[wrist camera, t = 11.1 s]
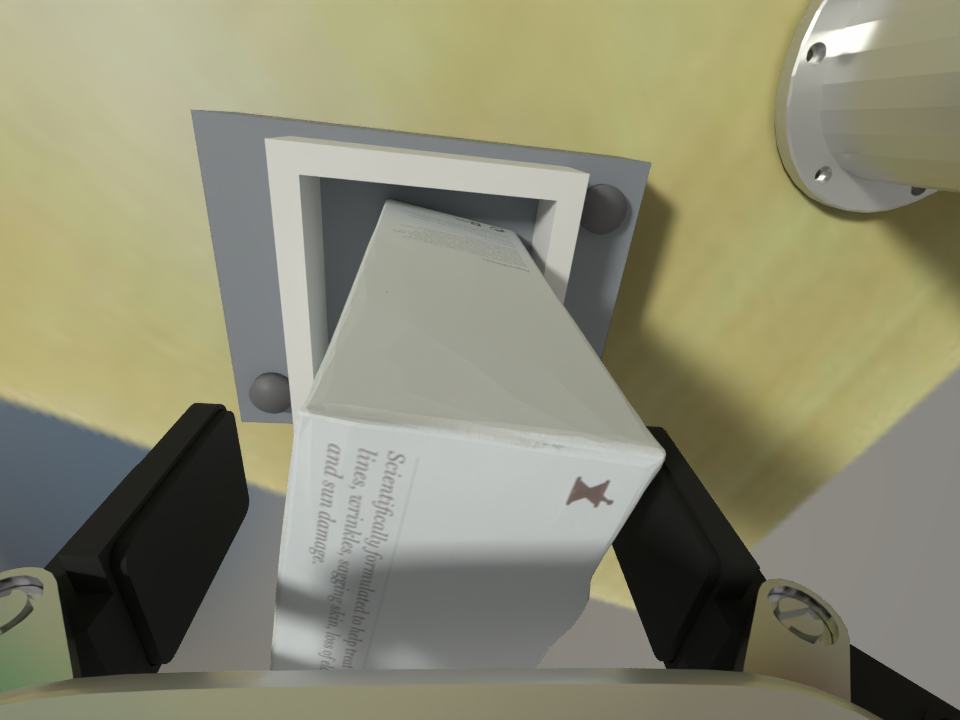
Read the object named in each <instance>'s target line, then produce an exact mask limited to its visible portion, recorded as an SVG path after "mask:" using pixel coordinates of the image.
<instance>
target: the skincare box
mask: <svg viewBox="0 0 960 720" xmlns="http://www.w3.org/2000/svg"><path fill="white" fill-rule="evenodd" d="M665 457H666V452H665V450H664V448H663V447H662V446H661V445H660V444H659V442H658V441H657V440H656V439H655V438H654V436H653V435H652V434H651V433H650V431H649V430H648V429H647V428H646V426H645V425H644V423H643V422H642V420H641V419H640V417H639V415H638V414H637V413H636V411H635V410H634V408H633V407H632V406H631V404H630V403H629V402H628V400H627V399H626V397H625V395H624V394H623V392H622V391H621V389H620V388H619V386H618V385H617V383H616V382H615V380H614V379H613V378H612V376H611V375H610V373H609V372H608V370H607V369H606V367H605V366H604V364H603V363H602V361H601V360H600V358H599V357H598V355H597V354H596V352H595V351H594V349H593V348H592V346H591V345H590V343H589V342H588V340H587V339H586V337H585V336H584V334H583V333H582V332H581V330H580V329H579V327H578V326H577V324H576V323H575V321H574V320H573V318H572V317H571V315H570V314H569V312H568V311H567V309H566V308H565V306H564V305H563V304H562V302H561V301H560V299H559V297H558V296H557V295H556V293H555V292H554V290H553V289H552V287H551V286H550V284H549V283H548V281H547V280H546V278H545V277H544V275H543V274H542V272H541V271H540V269H539V268H538V266H537V265H536V263H535V262H534V260H533V259H532V257H531V256H530V254H529V253H528V251H527V250H526V248H525V246H524V245H523V244H522V242H521V240H520V239H519V237H518V236H517V234H516V233H515V232H513V231H510V230H507V229H503V228H499V227H496V226H492V225H488V224H484V223H481V222H477V221H473V220H469V219H465V218H462V217H458V216H454V215H450V214H446V213H442V212H438V211H434V210H430V209H426V208H423V207H419V206H415V205H411V204H407V203H403V202H399V201H396V200H392V199H387V200H386V201H385V204H384V207H383V209H382V212H381V215H380V218H379V220H378V223H377V225H376V228H375V230H374V233H373V235H372V237H371V239H370V242H369V244H368V247H367V249H366V252H365V255H364V257H363V260H362V263H361V265H360V268H359V270H358V273H357V276H356V278H355V281H354V283H353V286H352V288H351V291H350V294H349V296H348V299H347V301H346V304H345V306H344V309H343V311H342V314H341V317H340V319H339V322H338V324H337V327H336V329H335V332H334V334H333V337H332V340H331V342H330V345H329V347H328V350H327V352H326V354H325V356H324V359H323V361H322V363H321V366H320V368H319V370H318V372H317V375H316V377H315V379H314V382H313V384H312V387H311V389H310V392H309V394H308V397H307V399H306V401H305V403H304V405H303V406H302V407H301V408H300V410H299V411H298V413H297V416H296V424H295V432H294V440H293V447H292V455H291V462H290V470H289V478H288V487H287V495H286V504H285V512H284V520H283V529H282V537H281V546H280V557H279V567H278V578H277V588H276V601H275V616H274V629H273V640H272V650H271V666H270V671H290V670H377V669H536V668H537V667H538V665H539V664H540V662H541V660H542V659H543V657H544V655H545V653H546V652H547V650H548V648H549V647H550V646H551V645H552V644H553V643H555V641H557V640H558V639H559V638H560V637H561V636H562V635H563V634H565V633H566V632H567V631H568V630H569V629H570V628H571V627H572V626H573V625H574V623H575V622H576V621H577V619H578V618H579V617H580V615H581V614H582V612H583V610H584V609H585V607H586V605H587V602H588V600H589V594H590V582H591V579H592V576H593V574H594V572H595V570H596V569H597V567H598V565H599V563H600V562H601V560H602V558H603V557H604V555H605V553H606V552H607V550H608V549H609V547H610V546H611V544H612V542H613V541H614V539H615V538H616V536H617V535H618V533H619V532H620V530H621V528H622V527H623V525H624V524H625V522H626V520H627V519H628V517H629V516H630V514H631V512H632V511H633V509H634V508H635V506H636V504H637V503H638V501H639V499H640V498H641V496H642V494H643V493H644V491H645V490H646V488H647V487H648V486H649V484H650V483H651V481H652V480H653V479H654V477H655V476H656V474H657V473H658V471H659V470H660V469H661V467H662V465H663V463H664V461H665Z"/></svg>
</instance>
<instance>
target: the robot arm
mask: <svg viewBox="0 0 960 720" xmlns="http://www.w3.org/2000/svg"><path fill="white" fill-rule="evenodd" d="M774 120H775V130H776V140H777V146H778V149H779V153H780V156H781V159H782V162H783V165H784V167H785V169H786V171H787V172H788V174H789V175H790V177H791V179H792V180H793V182H794V184H795V185H797V186H798V187H799V188H800V189H801V190H802V191H803V192H804V193H805V194H806V195H807V196H808V197H810V198H812V199H814V200H816V201H817V202H819V203H821V204H823V205H825V206H830V207H833V208H837V209H841V210H845V211H853V212H862V213H870V212H880V211H889V210H892V209H896V208H899V207H902V206H906V205H909V204H912V203H914V202H916V201H919V200H921V199H923V198H925V197H927V196H929V195H931V194H934V193H935V192H937V191H939V190H942V191H949V192H957V193H960V0H812V2H811V3H810V5H809V7H808V9H807V11H806V13H805V14H804V16H803V18H802V20H801V22H800V24H799V25H798V27H797V29H796V31H795V34H794V36H793V39H792V41H791V44H790V47H789V49H788V52H787V54H786V57H785V60H784V62H783V66H782V71H781V75H780V79H779V84H778V88H777V93H776V106H775V119H774ZM646 428H647V429H648V430H649V431H650V433H651V434H652V435H653V436H654V438H655V439H656V440H657V441H658V442H659V444H660V445H661V446H662V447H663V448H664V450H665V452H666V457H665V461H664V463H663V465H662V467H661V469H660V470H659V471H658V473H657V474H656V476H655V477H654V479H653V480H652V481H651V483H650V484H649V486H648V487H647V488H646V490H645V491H644V493H643V494H642V496H641V498H640V499H639V501H638V503H637V504H636V506H635V508H634V509H633V511H632V512H631V514H630V516H629V517H628V519H627V520H626V522H625V524H624V525H623V527H622V528H621V530H620V532H619V533H618V535H617V536H616V538H615V539H614V541H613V542H612V546H613V548H614V551H615V553H616V556H617V559H618V561H619V564H620V567H621V569H622V572H623V574H624V577H625V580H626V582H627V585H628V587H629V590H630V593H631V595H632V598H633V600H634V603H635V606H636V608H637V611H638V613H639V616H640V619H641V621H642V624H643V627H644V629H645V631H646V634H647V637H648V639H649V642H650V645H651V647H652V650H653V652H654V655H655V656H656V658H657V659H658V660H659V661H663V662H664V664H665V667H666V669H637V668H608V669H607V668H591V669H590V668H586V669H585V668H579V669H578V668H574V669H573V668H569V669H568V668H565V669H562V668H561V669H560V668H558V669H377V670H290V671H218V672H183V673H157V672H158V670H159V668H160V666H161V664H167V663H168V662H170V661H171V660H172V659H173V657H174V655H175V654H176V652H177V650H178V648H179V646H180V644H181V642H182V640H183V638H184V636H185V634H186V632H187V630H188V628H189V626H190V624H191V622H192V620H193V618H194V616H195V614H196V612H197V610H198V608H199V606H200V604H201V602H202V601H203V598H204V596H205V595H206V593H207V591H208V589H209V587H210V585H211V583H212V581H213V579H214V577H215V575H216V573H217V571H218V569H219V567H220V565H221V563H222V561H223V559H224V557H225V555H226V553H227V551H228V549H229V547H230V545H231V543H232V541H233V539H234V537H235V536H236V534H237V532H238V530H239V528H240V525H241V524H242V522H243V520H244V518H245V516H246V513H247V511H248V506H249V495H248V489H247V484H246V478H245V473H244V467H243V461H242V456H241V450H240V444H239V439H238V433H237V428H236V422H235V417H234V414H233V412H231V411H227V410H226V407H225V406H224V405H222V404H207V403H194V404H193V405H191V406H190V407H189V408H188V410H187V411H186V412H185V413H184V414H183V415H182V416H181V417H180V419H179V420H178V421H177V422H176V423H175V424H174V425H173V426H172V427H171V429H170V430H169V431H168V432H167V433H166V434H165V435H164V436H163V438H162V439H161V440H160V441H159V442H158V443H157V444H156V445H155V447H154V448H153V449H152V450H151V451H150V452H149V453H148V455H147V456H146V457H145V458H144V459H143V460H142V461H141V462H140V463H139V464H138V465H137V466H136V467H135V468H133V470H132V471H131V472H130V473H129V474H128V475H127V476H126V477H125V479H124V480H123V481H122V482H121V483H120V484H119V485H118V486H117V488H116V489H115V490H114V491H113V492H112V493H111V494H110V495H109V496H108V498H107V499H106V500H105V501H104V502H103V503H102V504H101V506H100V507H99V508H98V509H97V510H96V511H95V512H94V513H93V514H92V515H91V516H90V518H89V519H88V520H87V521H86V522H85V523H84V524H83V525H82V527H81V528H80V529H79V530H78V531H77V532H76V533H75V534H74V536H73V537H72V538H71V539H70V540H69V541H68V542H67V543H66V545H65V546H64V547H63V548H62V549H61V550H60V551H59V552H58V553H57V554H56V556H55V557H54V558H53V559H52V560H51V561H50V562H49V563H48V565H47V566H46V567H45V568H44V569H42V568H33V567H26V568H19V569H12V570H9V571H5V572H2V573H0V720H960V711H959V710H958V709H956V708H954V707H953V706H951V705H950V704H948V703H946V702H945V701H943V700H941V699H940V698H938V697H937V696H935V695H933V694H931V693H930V692H928V691H927V690H925V689H923V688H922V687H920V686H918V685H917V684H915V683H913V682H912V681H910V680H908V679H907V678H905V677H903V676H902V675H900V674H899V673H897V672H895V671H894V670H892V669H890V668H889V667H887V666H885V665H884V664H882V663H880V662H879V661H877V660H875V659H874V658H872V657H871V656H869V655H867V654H866V653H864V652H862V651H861V650H859V649H857V648H856V647H854V646H852V645H851V644H850V639H849V635H848V631H847V628H846V626H845V624H844V622H843V621H842V619H841V617H840V616H839V615H838V614H837V613H836V611H835V610H834V609H833V608H832V607H831V605H829V604H828V603H827V602H826V601H825V600H823V599H822V598H821V597H820V596H819V595H817V594H816V593H814V592H812V591H811V590H809V589H808V588H806V587H804V586H802V585H799V584H797V583H795V582H793V581H788V580H784V579H769V580H766V579H765V578H764V576H763V574H762V573H761V572H760V570H759V569H760V567H759V565H758V564H757V562H756V561H755V559H754V558H753V557H752V555H751V554H750V552H749V551H748V549H747V548H746V546H745V545H744V544H743V542H742V541H741V539H740V538H739V536H738V535H737V533H736V532H735V531H734V529H733V528H732V526H731V525H730V523H729V522H728V520H727V519H726V518H725V516H724V515H723V513H722V512H721V510H720V509H719V507H718V506H717V505H716V503H715V502H714V500H713V499H712V497H711V496H710V494H709V493H708V492H707V490H706V489H705V487H704V486H703V484H702V483H701V481H700V480H699V479H698V477H697V476H696V474H695V473H694V471H693V470H692V468H691V467H690V466H689V464H688V463H687V461H686V460H685V458H684V457H683V455H682V454H681V453H680V451H679V450H678V448H677V447H676V445H675V444H674V442H673V441H672V440H671V438H670V437H669V435H668V434H667V432H666V431H665V430H664V429H663V428H662V427H651V426H646Z"/></svg>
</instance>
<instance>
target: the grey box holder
mask: <svg viewBox="0 0 960 720" xmlns="http://www.w3.org/2000/svg"><path fill="white" fill-rule="evenodd" d="M191 114H192V120H193V127H194V133H195V139H196V145H197V151H198V157H199V163H200V169H201V176H202V182H203V188H204V194H205V200H206V206H207V212H208V218H209V225H210V231H211V237H212V243H213V249H214V255H215V261H216V268H217V274H218V280H219V286H220V292H221V298H222V304H223V310H224V317H225V323H226V329H227V335H228V341H229V347H230V353H231V360H232V366H233V372H234V378H235V384H236V390H237V396H238V402H239V409H240V415H241V421H242V422H261V423H289V424H293V427H294V432H295V424H296V416H297V413H298V411H299V410H300V408H301V407H302V406H303V405H304V403H305V401H306V399H307V397H308V394H309V392H310V389H311V387H312V384H313V382H314V379H315V377H316V375H317V372H318V370H319V368H320V366H321V363H322V361H323V359H324V356H325V354H326V352H327V350H328V347H329V345H330V342H331V340H332V337H333V334H334V332H335V329H336V327H337V324H338V322H339V319H340V317H341V314H342V311H343V309H344V306H345V304H346V301H347V299H348V296H349V294H350V291H351V288H352V286H353V283H354V281H355V278H356V276H357V273H358V270H359V268H360V265H361V263H362V260H363V257H364V255H365V252H366V249H367V247H368V244H369V242H370V239H371V237H372V235H373V233H374V230H375V228H376V225H377V223H378V220H379V218H380V215H381V212H382V209H383V207H384V204H385V201H386V200H387V199H392V200H396V201H399V202H403V203H407V204H411V205H415V206H419V207H423V208H426V209H430V210H434V211H438V212H442V213H446V214H450V215H454V216H458V217H462V218H465V219H469V220H473V221H477V222H481V223H484V224H488V225H492V226H496V227H499V228H503V229H507V230H510V231H513V232H515V233H516V234H517V236H518V237H519V239H520V240H521V242H522V244H523V245H524V246H525V248H526V250H527V251H528V253H529V254H530V256H531V257H532V259H533V260H534V262H535V263H536V265H537V266H538V268H539V269H540V271H541V272H542V274H543V275H544V277H545V278H546V280H547V281H548V283H549V284H550V286H551V287H552V289H553V290H554V292H555V293H556V295H557V296H558V297H559V299H560V301H561V302H562V304H563V305H564V306H565V308H566V309H567V311H568V312H569V314H570V315H571V317H572V318H573V320H574V321H575V323H576V324H577V326H578V327H579V329H580V330H581V332H582V333H583V334H584V336H585V337H586V339H587V340H588V342H589V343H590V345H591V346H592V348H593V349H594V351H595V352H596V354H597V355H598V357H599V358H600V360H601V357H602V353H603V349H604V346H605V342H606V338H607V334H608V330H609V326H610V322H611V318H612V314H613V310H614V307H615V303H616V299H617V295H618V291H619V287H620V283H621V279H622V275H623V272H624V268H625V264H626V260H627V256H628V252H629V248H630V244H631V240H632V237H633V233H634V229H635V225H636V221H637V217H638V213H639V209H640V205H641V202H642V198H643V194H644V190H645V186H646V182H647V178H648V174H649V170H650V166H651V163H649V162H644V161H639V160H634V159H628V158H623V157H618V156H609V155H601V154H592V153H583V152H575V151H566V150H558V149H549V148H540V147H532V146H523V145H514V144H506V143H497V142H488V141H480V140H471V139H463V138H454V137H445V136H437V135H428V134H419V133H411V132H402V131H394V130H385V129H376V128H368V127H359V126H350V125H342V124H333V123H324V122H316V121H307V120H299V119H290V118H281V117H273V116H264V115H255V114H247V113H238V112H224V111H204V110H191Z"/></svg>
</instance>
